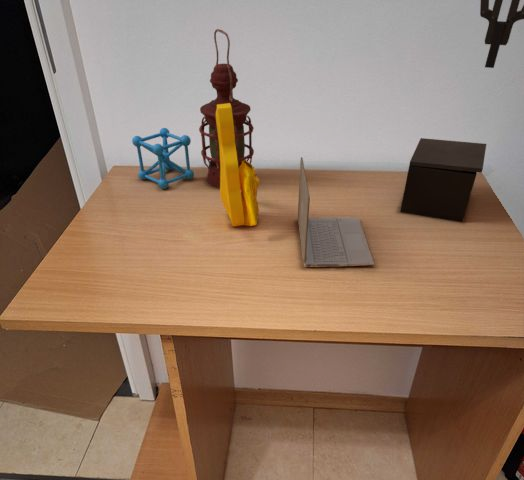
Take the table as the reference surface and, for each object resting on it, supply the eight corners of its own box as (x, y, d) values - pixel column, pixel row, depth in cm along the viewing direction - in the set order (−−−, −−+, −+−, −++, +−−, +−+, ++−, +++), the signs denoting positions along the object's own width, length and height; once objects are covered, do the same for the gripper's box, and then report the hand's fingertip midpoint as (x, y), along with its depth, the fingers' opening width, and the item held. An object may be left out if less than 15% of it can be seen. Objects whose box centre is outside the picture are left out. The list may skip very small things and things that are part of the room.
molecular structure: (163, 191, 110) (156, 146, 103) (137, 179, 115) (129, 136, 108) (196, 179, 115) (192, 135, 108) (170, 168, 120) (164, 125, 114)
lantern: (263, 184, 112) (262, 32, 92) (214, 194, 108) (202, 37, 89) (242, 167, 121) (237, 23, 101) (196, 175, 117) (181, 27, 97)
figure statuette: (266, 240, 93) (266, 118, 78) (225, 243, 92) (217, 120, 77) (254, 200, 106) (252, 90, 91) (218, 203, 105) (211, 91, 91)
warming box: (467, 194, 108) (480, 149, 102) (462, 222, 98) (476, 174, 92) (410, 185, 112) (419, 142, 105) (399, 212, 102) (409, 165, 95)
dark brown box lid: (485, 147, 101) (486, 143, 101) (481, 172, 91) (482, 168, 90) (420, 141, 105) (420, 138, 105) (409, 165, 95) (409, 161, 94)
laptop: (373, 267, 85) (386, 197, 77) (302, 268, 85) (307, 197, 77) (358, 220, 99) (367, 156, 90) (297, 221, 99) (300, 156, 90)
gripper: (586, -117, 71) (528, 64, 87) (492, -115, 75) (453, 59, 91) (591, -120, 66) (529, 73, 82) (490, -118, 70) (449, 67, 86)
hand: (489, 65), depth 86 cm, fingers closed
